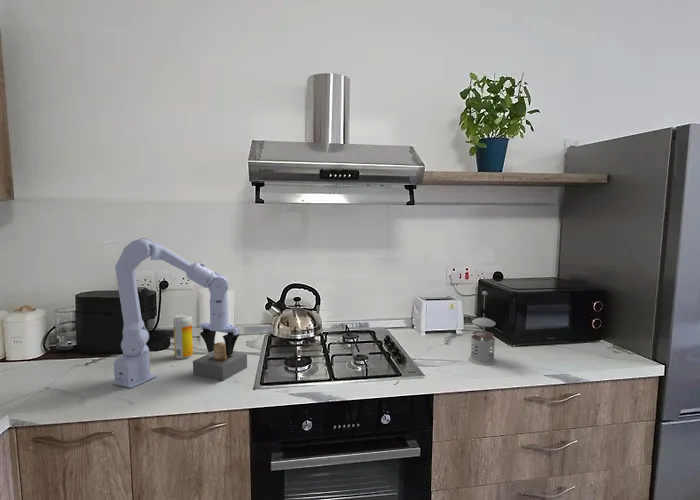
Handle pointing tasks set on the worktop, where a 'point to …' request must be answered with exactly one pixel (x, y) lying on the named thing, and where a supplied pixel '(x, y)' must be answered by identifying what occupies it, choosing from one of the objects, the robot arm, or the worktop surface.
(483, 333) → the french press
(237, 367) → the socket block
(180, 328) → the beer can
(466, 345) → the worktop surface
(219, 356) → the dowel
